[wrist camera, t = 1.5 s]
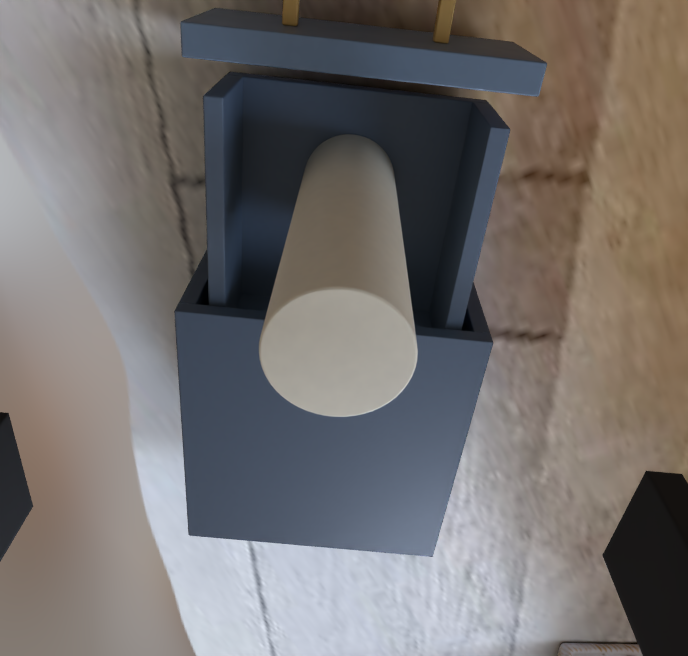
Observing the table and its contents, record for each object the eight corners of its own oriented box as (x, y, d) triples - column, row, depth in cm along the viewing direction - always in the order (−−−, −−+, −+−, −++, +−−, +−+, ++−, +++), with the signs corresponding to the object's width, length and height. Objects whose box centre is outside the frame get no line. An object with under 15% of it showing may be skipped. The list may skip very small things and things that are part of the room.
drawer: (212, -121, 24) (172, -139, 19) (542, -82, 24) (587, -89, 19) (218, 293, 34) (194, 351, 29) (450, 316, 34) (465, 377, 30)
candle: (318, 121, 28) (280, 266, 15) (407, 150, 28) (442, 314, 16) (294, 206, 30) (242, 395, 17) (376, 232, 31) (385, 433, 18)
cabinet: (210, 240, 33) (174, 310, 27) (468, 267, 34) (493, 342, 27) (215, 445, 42) (188, 535, 35) (422, 464, 42) (432, 557, 36)
